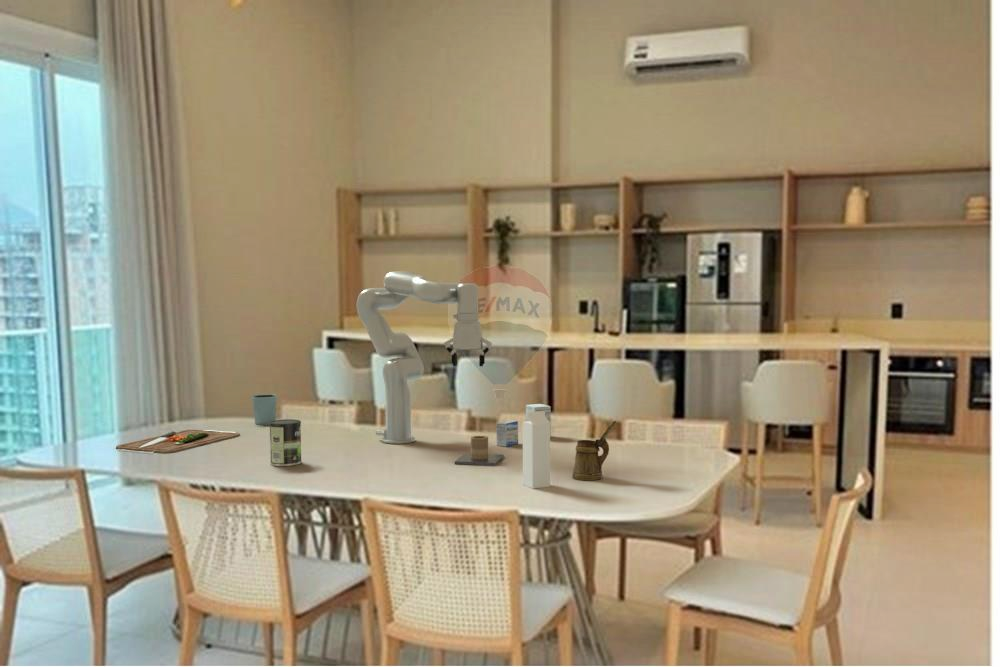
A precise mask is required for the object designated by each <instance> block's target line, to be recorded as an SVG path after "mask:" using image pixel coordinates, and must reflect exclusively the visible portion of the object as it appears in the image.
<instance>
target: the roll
mask: <svg viewBox="0 0 1000 667" xmlns="http://www.w3.org/2000/svg"><path fill="white" fill-rule="evenodd" d="M470 453H471V458H472V459H477V460H482V459H487V458H488V454H489V437H488V436H486V435H473V436H471V437H470Z"/></svg>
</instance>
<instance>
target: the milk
mask: <svg viewBox="0 0 1000 667" xmlns="http://www.w3.org/2000/svg"><path fill="white" fill-rule="evenodd" d="M522 485H523V486H525V487H528V488H530V489H533V490H535V489H541V488H542V489H543V488H549V487H551V438H550V422H549V421H548V419H547V418H546V417H545V411H538V412H528V413H527V418H526V417H525V419H524V420H523V421H522Z"/></svg>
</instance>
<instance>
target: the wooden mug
mask: <svg viewBox="0 0 1000 667" xmlns="http://www.w3.org/2000/svg"><path fill="white" fill-rule="evenodd" d="M616 424H617V421H616V420H615V421H613V422H612V423H611V424H610V426H608V428H607V429H606V431H605V432H604V433H603V434H602V436H601V437H600V438H598V439H597V438H596V439H595V440H592V439H580V440H577V443H576V444H577V445H576V446H575V459H574V460H575V461H574V466H573V471H572V475H571V476H572V479H574V480H577V481H578V480H579V481H585V482H586V481H597V480H601V478H603V472H602V467H603V464H604V462H605V460H606V459H607V457H608V455H609V452H610V445H609V443H608V441H607V440H606V438H607V437H608V435H609V434H610V432H611V431H612V430H613V428H614V427H615V425H616ZM600 448H601V449H602V451H603V452H602V454H601V455H599V452H600Z"/></svg>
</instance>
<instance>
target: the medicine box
mask: <svg viewBox="0 0 1000 667" xmlns="http://www.w3.org/2000/svg"><path fill="white" fill-rule="evenodd" d="M495 428H496V446H497V447H504V448H507V447H512V446H515V445H518V444H519V421H518V420H513V419H511V420H505V421H500V422H496V427H495Z"/></svg>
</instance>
